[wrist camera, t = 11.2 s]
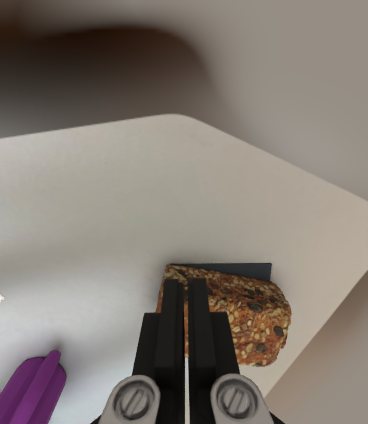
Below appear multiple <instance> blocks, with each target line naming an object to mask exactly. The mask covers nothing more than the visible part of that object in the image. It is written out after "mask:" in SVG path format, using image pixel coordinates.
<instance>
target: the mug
mask: <svg viewBox="0 0 368 424" xmlns="http://www.w3.org/2000/svg"><path fill="white" fill-rule="evenodd" d="M60 356H61V355H60V352H58V351H56V350H54V351H51V352H50V353H49V354H48V355H47V357H46V358H45V359H44V358H34V359H29V360H26V361H25V362H23V363H22V364H21V365H20V366H19V367H18V368H17V369H16V371H15V372H14V374H13V375H12V377H11V378H10V380H9V381H8V383H7V385H6V386H5V388H4V389H3V391H2V392H1V394H0V424H48V422H49V420H50V418H51V415H52V413H53V411H54V409H55V406H56V404H57V402H58V399H59V397H60V395H61V392H62V390H63V388H64V385H65V380H66V375H65V373H64V371H63V369H62V367H61V366H59V365H58V363H59V360H60Z"/></svg>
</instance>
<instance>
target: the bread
mask: <svg viewBox="0 0 368 424" xmlns="http://www.w3.org/2000/svg"><path fill="white" fill-rule="evenodd" d="M193 278H206V283H207V292H208V300H209V308H210V312H225V311H227V314H228V318H229V323H230V328H231V332H232V337H233V342H234V347H235V352H236V357H237V361H238V364H241V365H252V366H256V367H265V366H268V365H270V364H272V363H273V362H274V361H275V360H276V359H277V355H278V353H279V351H280V348H284V346H285V344H286V339H287V331H288V326H289V325H290V324H291V319H290V317H291V308H290V306H289V303H288V301H287V300H286V299H285V297H284V295H283V292H282V291H281V289H280V288H278V287H277V285H276V284H274V283H272V282H270V281H263V280H258V279H254V278H249V277H248V278H246V277H243V276H240V275H233V274H227V273H221V272H215V271H212V270H211V271H206V270H204V269H199V268H194V267H185V266H174V265H167V266H166V269H165V272H164V277H163V281H162V285H161V289H160V292H159V298H158V304H157V308H156V313H160V312H161V304H162V296H163V287H164V280H165V279H178V282H183V290H184V322H185V357H188V289H187V282H193Z"/></svg>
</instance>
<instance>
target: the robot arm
mask: <svg viewBox="0 0 368 424" xmlns="http://www.w3.org/2000/svg"><path fill="white" fill-rule="evenodd" d="M187 289H188V369H189V406H190V424H285V423H283V422H282V421H281V420H280V419H278V418H277V417H276V416H275V415H273V414H272V413H271V412H270V411H269V410H268V408H267V405H266V403H265V401H264V398H263V396H262V394H261V392H260V390H259V388H258V387H257V385H256V384H255V383H254V382H253V381H252V380H250V379H249V378H247V377H245V376H243V375H240V371H239V366H238V361H237V357H236V352H235V347H234V342H233V337H232V332H231V328H230V323H229V318H228V314H227V311H225V312H210V308H209V300H208V292H207V283H206V278H193V282H187ZM91 424H185V322H184V290H183V282H178V279H165V280H164V287H163V296H162V304H161V312H160V313H145V314H144V317H143V322H142V327H141V332H140V337H139V342H138V347H137V352H136V357H135V362H134V367H133V372H132V376H130V377H127V378H125V379H124V380H122V381H120V382H119V383H118V384H117V385H116V386H115V387H114V389H113V391H112V392H111V394H110V396H109V398H108V401H107V403H106V406H105V408H104V410H103V413H102V414H101V415H100V416H99V417H98V418H97V419H95V420H94V421H93V422H92V423H91Z"/></svg>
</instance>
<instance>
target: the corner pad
mask: <svg viewBox="0 0 368 424" xmlns="http://www.w3.org/2000/svg"><path fill="white" fill-rule="evenodd" d="M170 265H174V266H185V267H194V268H199V269H204V270H206V271H211V270H212V271H215V272H221V273H227V274H233V275H240V276H243V277H246V278H248V277H249V278H254V279H258V280H263V281H270V274H271V266H272V263H242V264H170Z"/></svg>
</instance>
